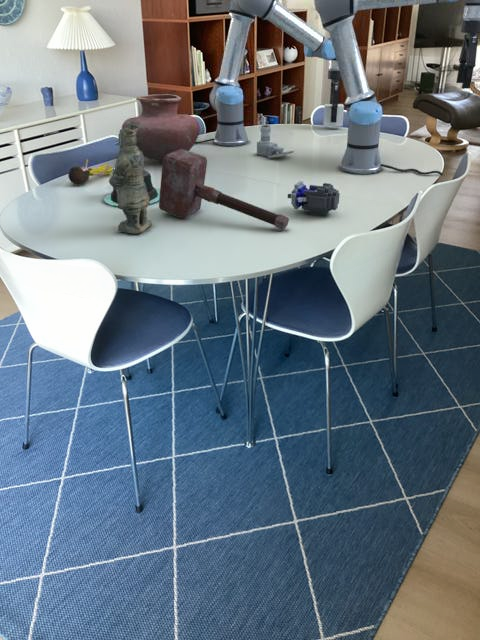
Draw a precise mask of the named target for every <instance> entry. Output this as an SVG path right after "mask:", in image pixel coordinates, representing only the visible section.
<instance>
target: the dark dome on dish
mask: <svg viewBox="0 0 480 640" xmlns="http://www.w3.org/2000/svg"><path fill="white" fill-rule="evenodd" d="M113 175H114V171H112V172H111V176H113ZM143 178H144V182H145V184H146V188H147V192H148V195H149V197H150V204H154V203H157V202H159V198H160V188H156V187H154V185H153V182H152V174H151V172H149V171H148V170H146V169H144V168H143ZM103 200H104V202H105V203H106V204H108V205H109V206H115V207H118V202H117V192H116V189H115V188H114V187H112V191H111V193H108V194H107V195H106V196H104V198H103ZM150 204H149V205H150Z"/></svg>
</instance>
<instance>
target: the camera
mask: <svg viewBox="0 0 480 640" xmlns="http://www.w3.org/2000/svg"><path fill="white" fill-rule="evenodd" d="M271 131H272V126H271V125H270V124H260V125H259V132H260V140H259V141H257V142H256V155H257V156H262V157H267V159H272V158H278V157H283V156H287V155H291V154H292V153H294V152H295V151H294V150H290V151H289V150H288V151H284V148H283V147H280V146H279V145H278V143H276V142H271V133H272V132H271Z"/></svg>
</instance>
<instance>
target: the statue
mask: <svg viewBox="0 0 480 640" xmlns="http://www.w3.org/2000/svg"><path fill="white" fill-rule="evenodd" d="M138 127H139V123H138V122H137V121H133V122H131V123H128V124H127V125H126V126H125V127H124V128H123V129H122V128H121V129H119V133H118V139H117V141H119V143H118V146H119V152H118V154H117V156H116V160H115V164H114V166H115V170H113V172H114V175H113V176H112V175H111V176H110V177H109V180H108V183H109V184H110V186H111V187H112V188H113V187H114V188H115V189H116V192H117V202H118V206H117V209H119V210H122V213H123V214H124V215H125V218H126V219H125V220H122V221H120V222H119V224H118V225H117V231H118V232H121V233H126V234H134V235H136V234H142V233H143V232H145V231H146V230H147V229H148V228H150V227H151V226H152V225H153V223H152V220H150V219H148V216H147V214H148V213H147V212H148V211H147V209H148V206H149V205H150V197H149V195H148V192H147V188H146V184H145V182H144V178H143V169H144V165H145V157H144V156H143V153H142V151H141V150H139V149H138V147H137V146H136V143H137V138H136V131H137V130H138Z"/></svg>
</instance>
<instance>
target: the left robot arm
mask: <svg viewBox="0 0 480 640" xmlns="http://www.w3.org/2000/svg"><path fill="white" fill-rule="evenodd" d="M228 14H229V16H230V22H229V23H230V24H229V27H228V33H227V36H226V43H225V49H224V52H223V57H222V61H221V65H220V66H221V67H220V71H219V76H218V77H216V78H215V79H214V83H213V88H212V89H211V91H210V93H209V102H210V105H211V107H212V108H213V110H214V111H215V112H216V119H217V120H216V121H217V127H216V131H215V134H214V138H209V139H206V140H201V141H196V142H195V144H203V143H208V142H211V141H213V142H214V144H215V145H217V146H220V147H238V146H244V145H246V144H247V143H248V138H249V137H248V134H247V131H246V129H245V125H244V92H243V89H242V88H241V86H240V83H239V81H238V80H239V77H240V73H241V72H240V71H241V67H242V63H243V58H244V54H245V49H246V45H247V41H248V36H249V32H250V27H251V24H252V23H253V22H255V20H256V16H257V17H258V18H260V19H262V20H263V21H264V20H266V21H269V22H270V23H271V24H273V25H275V26H276V27H277V28H279V29H280V30H281V31H283V32H285V33H286V34H287V35H289V36H290V37H292V38H293V39H295V40H296V41H297V42H299V43H300V44H302V45H303V53H304V56H305V57H306V58H318V59H322V60H325V61H328V64H327V65H328V67H327V69H328V71H327V79H328V80H332V81H331V82H330V103H329V104H332V107H330V108H331V122H336V120H337V108H338V104H339V93H340V87H341V83H340V82H339V80H342V77H341V74H340V70H339V67H338V63H337V59H336V56H335V52H334V49H333V45H332V42H331V38H330V37H326V36H324V35H323V34H322V33H321V32H319V31H318V30H317V29H315V28H314V27H312V25H310V24H308V23H307V22H306V21H304V20H303V19H301V18H300V17H299V16H298V15H296V14H295V13H293V12H292V11H290V10H289V9H288V8H286V7H285V6H284V5H282V4H281V3H280V2H279V1H278V0H230V7H229V11H228Z"/></svg>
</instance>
